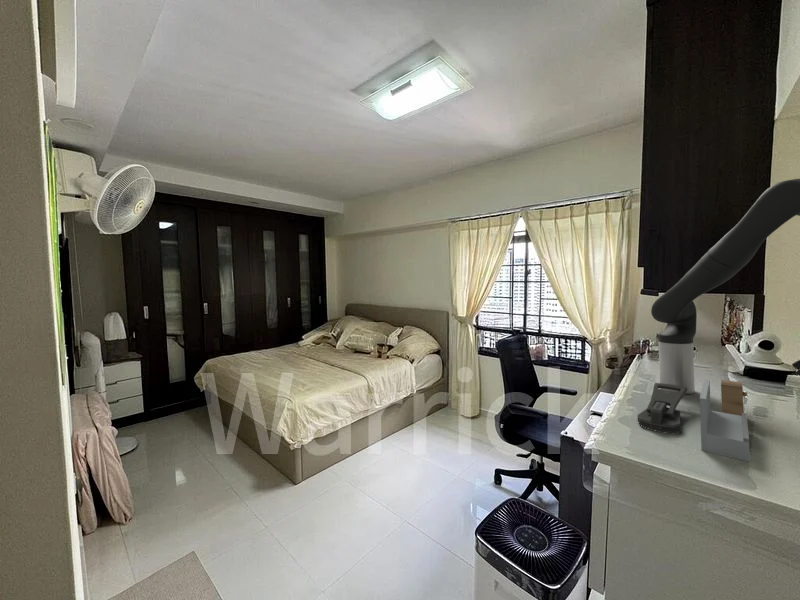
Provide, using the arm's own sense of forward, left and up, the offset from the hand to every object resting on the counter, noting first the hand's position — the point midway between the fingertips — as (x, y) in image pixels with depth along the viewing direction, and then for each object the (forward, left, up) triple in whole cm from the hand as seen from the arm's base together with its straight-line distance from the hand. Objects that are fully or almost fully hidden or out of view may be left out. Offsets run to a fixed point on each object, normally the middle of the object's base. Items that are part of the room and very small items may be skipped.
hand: (798, 371), depth 78 cm
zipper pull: (+8, -25, -15) cm, 30 cm away
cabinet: (0, -11, -15) cm, 19 cm away
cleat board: (+17, -13, -15) cm, 26 cm away
